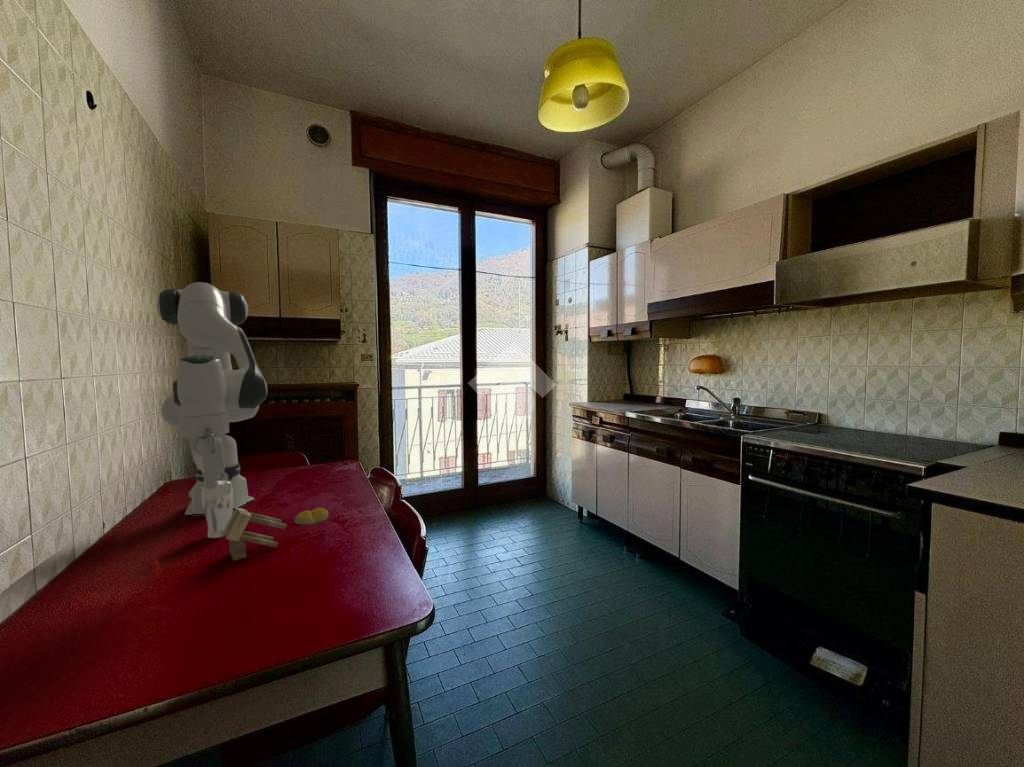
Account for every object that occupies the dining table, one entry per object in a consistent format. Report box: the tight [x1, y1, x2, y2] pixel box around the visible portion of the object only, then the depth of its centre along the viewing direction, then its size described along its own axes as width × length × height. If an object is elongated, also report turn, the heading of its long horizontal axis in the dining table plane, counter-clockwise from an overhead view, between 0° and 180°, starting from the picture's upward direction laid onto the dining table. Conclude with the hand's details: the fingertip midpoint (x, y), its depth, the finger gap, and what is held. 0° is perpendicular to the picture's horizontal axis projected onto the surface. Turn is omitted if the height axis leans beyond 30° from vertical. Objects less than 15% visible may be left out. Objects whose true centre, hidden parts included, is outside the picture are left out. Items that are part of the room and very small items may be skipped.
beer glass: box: [202, 479, 234, 539], centre depth 112 cm, size 7×7×15 cm
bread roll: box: [294, 507, 329, 525], centre depth 120 cm, size 8×9×4 cm
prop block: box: [228, 540, 247, 561], centre depth 98 cm, size 5×2×3 cm, turn 43°
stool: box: [223, 507, 287, 548], centre depth 100 cm, size 6×6×11 cm
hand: (210, 487), depth 94 cm, fingers closed
